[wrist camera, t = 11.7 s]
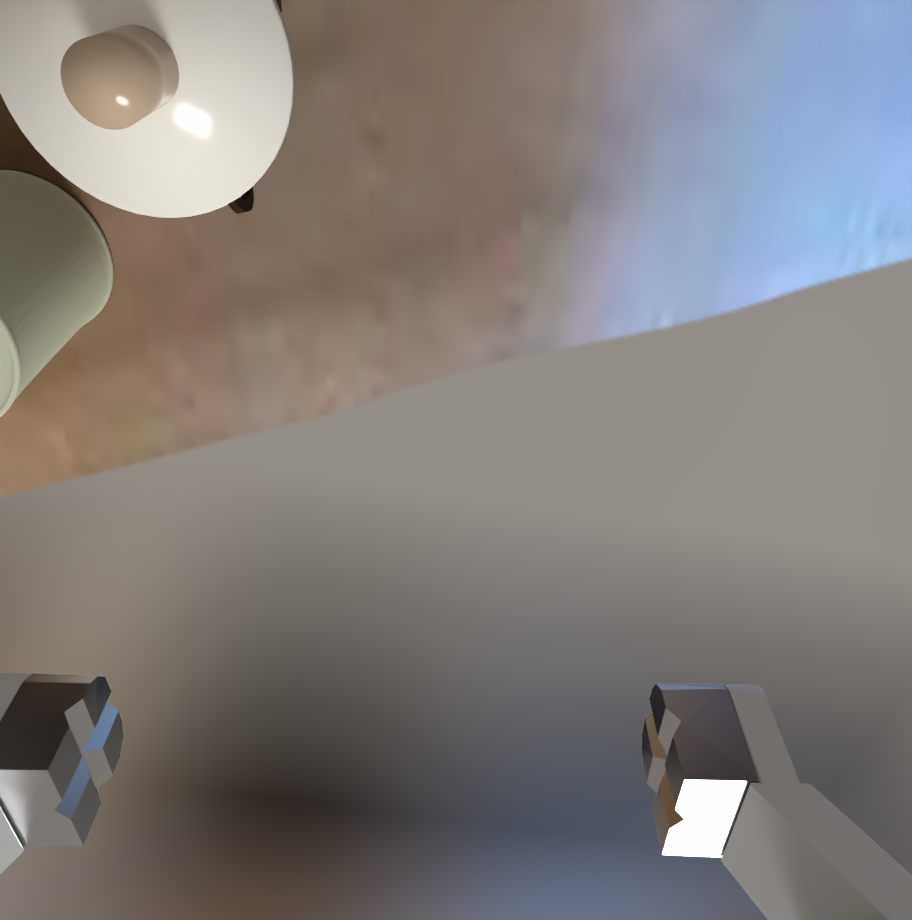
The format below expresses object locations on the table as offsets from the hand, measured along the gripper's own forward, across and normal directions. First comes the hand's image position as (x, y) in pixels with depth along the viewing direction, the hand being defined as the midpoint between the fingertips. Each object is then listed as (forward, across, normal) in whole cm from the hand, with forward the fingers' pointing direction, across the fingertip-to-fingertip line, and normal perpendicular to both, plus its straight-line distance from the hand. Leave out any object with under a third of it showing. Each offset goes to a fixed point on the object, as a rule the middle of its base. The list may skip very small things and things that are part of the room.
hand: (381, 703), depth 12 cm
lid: (+25, +11, -5) cm, 28 cm away
